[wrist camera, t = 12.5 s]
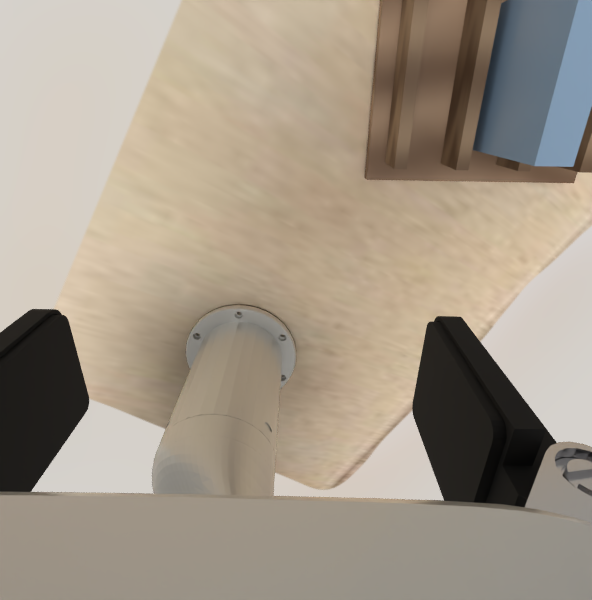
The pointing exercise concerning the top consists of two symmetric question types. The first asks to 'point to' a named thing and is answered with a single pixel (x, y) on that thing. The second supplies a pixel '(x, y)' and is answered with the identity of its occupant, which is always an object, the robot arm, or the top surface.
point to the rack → (441, 97)
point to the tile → (538, 83)
